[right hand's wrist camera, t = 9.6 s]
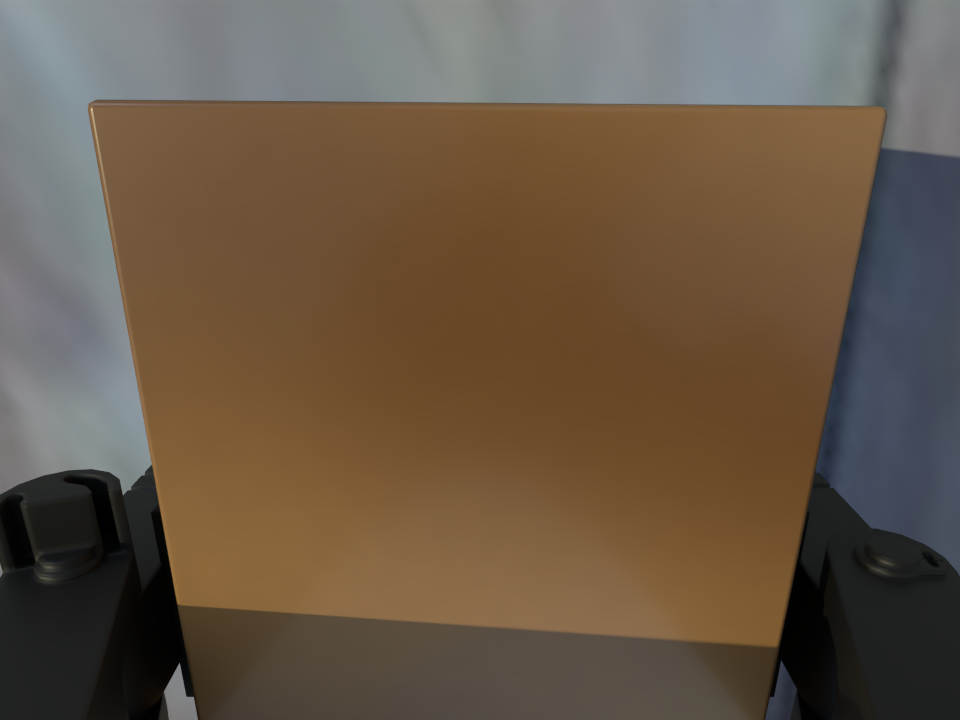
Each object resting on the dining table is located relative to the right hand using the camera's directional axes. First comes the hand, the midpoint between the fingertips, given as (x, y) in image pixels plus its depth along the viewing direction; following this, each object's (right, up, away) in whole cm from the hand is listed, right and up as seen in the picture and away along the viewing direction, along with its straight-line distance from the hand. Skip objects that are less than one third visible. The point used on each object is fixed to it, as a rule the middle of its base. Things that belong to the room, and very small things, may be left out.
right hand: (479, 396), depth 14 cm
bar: (0, -24, +9) cm, 25 cm away
